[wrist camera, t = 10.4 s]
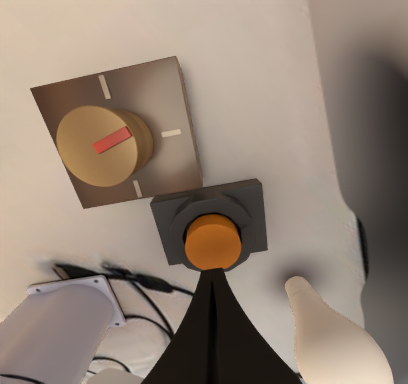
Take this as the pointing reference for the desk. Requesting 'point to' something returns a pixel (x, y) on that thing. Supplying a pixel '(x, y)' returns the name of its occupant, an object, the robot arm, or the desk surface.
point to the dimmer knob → (103, 144)
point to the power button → (212, 242)
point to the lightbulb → (332, 342)
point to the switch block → (212, 204)
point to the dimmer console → (145, 109)
